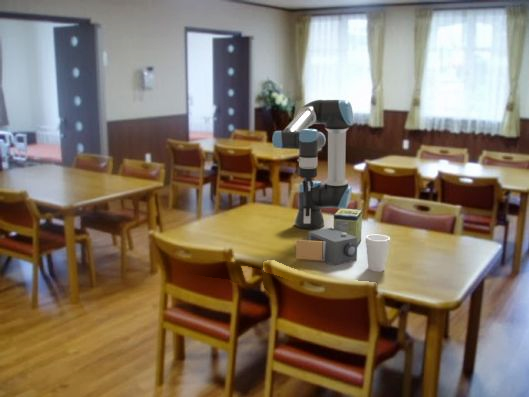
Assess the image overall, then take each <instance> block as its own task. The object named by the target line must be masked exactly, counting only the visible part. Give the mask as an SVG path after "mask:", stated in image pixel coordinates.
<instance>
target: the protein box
mask: <svg viewBox="0 0 529 397" xmlns="http://www.w3.org/2000/svg"><path fill="white" fill-rule="evenodd" d="M362 224H363V209H359V208H348V207H347V208H339V209H338V210H337V212H335V213H334V215H333V229H335V230H338V231H341V232H344V233H347V234H349V235H352V236H355V237H357V248H358V247H359V245H360V244H361V242H362V227H363V226H362Z"/></svg>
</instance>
